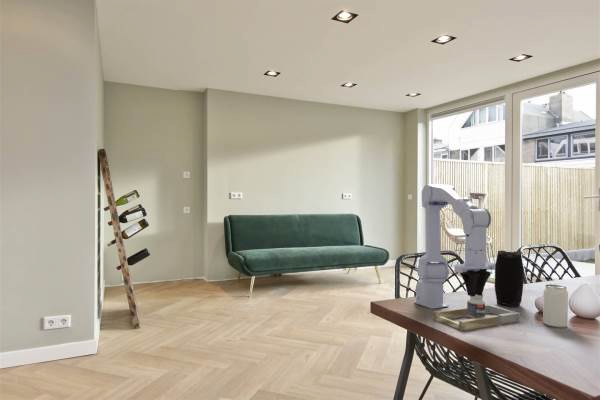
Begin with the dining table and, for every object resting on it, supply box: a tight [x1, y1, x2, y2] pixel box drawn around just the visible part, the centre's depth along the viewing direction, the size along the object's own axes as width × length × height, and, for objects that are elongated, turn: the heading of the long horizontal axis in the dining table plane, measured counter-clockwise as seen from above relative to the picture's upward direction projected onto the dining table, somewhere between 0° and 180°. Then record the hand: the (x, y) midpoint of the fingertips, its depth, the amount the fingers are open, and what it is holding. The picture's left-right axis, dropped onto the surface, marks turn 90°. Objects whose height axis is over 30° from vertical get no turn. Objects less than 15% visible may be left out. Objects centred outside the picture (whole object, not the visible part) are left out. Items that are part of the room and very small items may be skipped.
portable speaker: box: [494, 250, 524, 309], centre depth 150 cm, size 9×9×20 cm
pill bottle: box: [466, 292, 486, 320], centre depth 130 cm, size 5×5×9 cm
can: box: [542, 284, 569, 329], centre depth 127 cm, size 6×6×12 cm
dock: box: [485, 303, 520, 325], centre depth 134 cm, size 12×8×2 cm, turn 25°
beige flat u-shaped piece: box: [433, 306, 500, 331], centre depth 129 cm, size 12×15×2 cm
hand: (474, 295), depth 121 cm, fingers open, 2 cm apart
